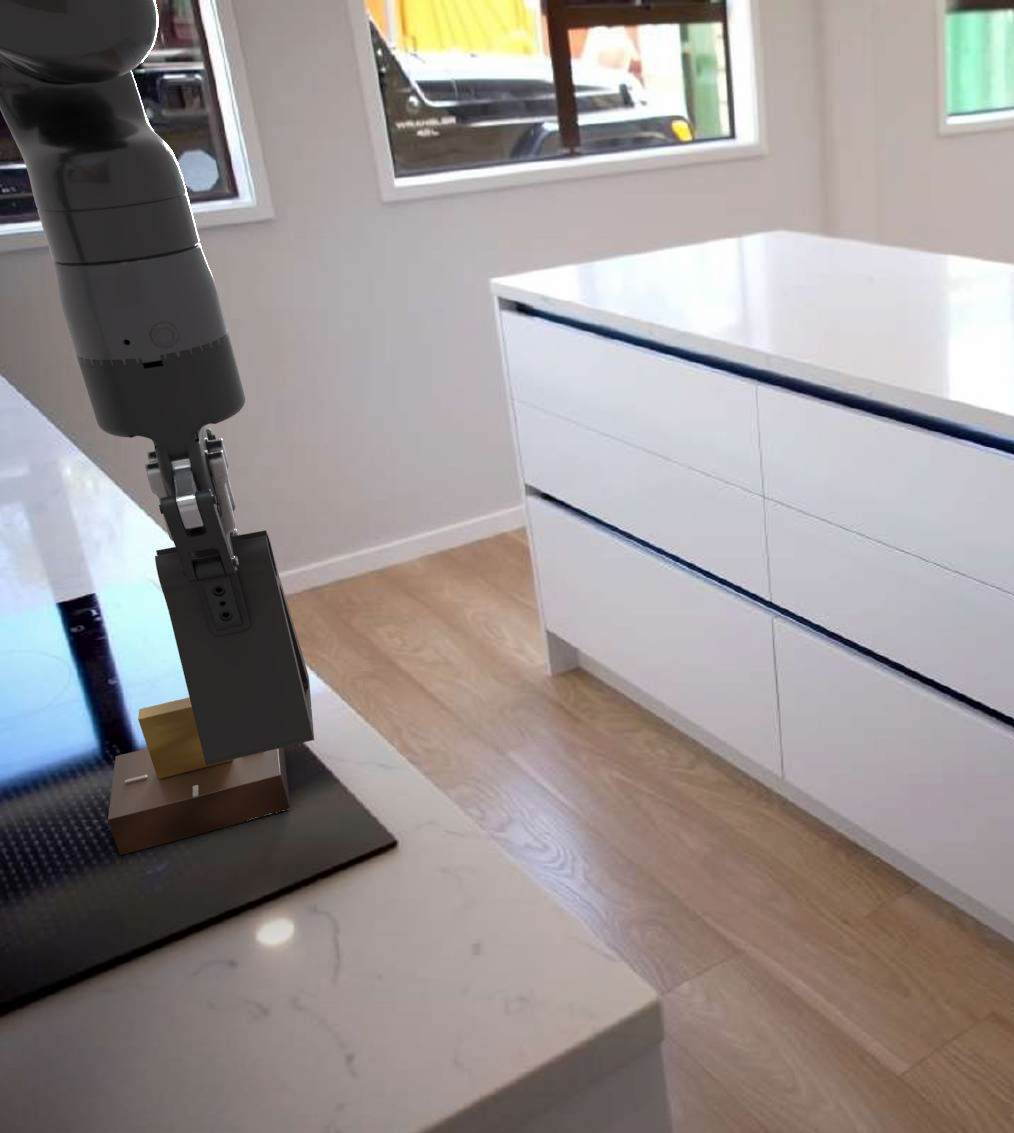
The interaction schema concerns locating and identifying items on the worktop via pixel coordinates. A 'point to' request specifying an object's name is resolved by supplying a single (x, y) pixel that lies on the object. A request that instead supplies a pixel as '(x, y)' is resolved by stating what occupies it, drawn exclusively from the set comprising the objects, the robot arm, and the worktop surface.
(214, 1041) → the worktop surface
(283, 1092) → the worktop surface
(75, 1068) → the worktop surface
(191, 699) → the phone stand
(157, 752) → the lock knob
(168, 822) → the plate
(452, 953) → the worktop surface
